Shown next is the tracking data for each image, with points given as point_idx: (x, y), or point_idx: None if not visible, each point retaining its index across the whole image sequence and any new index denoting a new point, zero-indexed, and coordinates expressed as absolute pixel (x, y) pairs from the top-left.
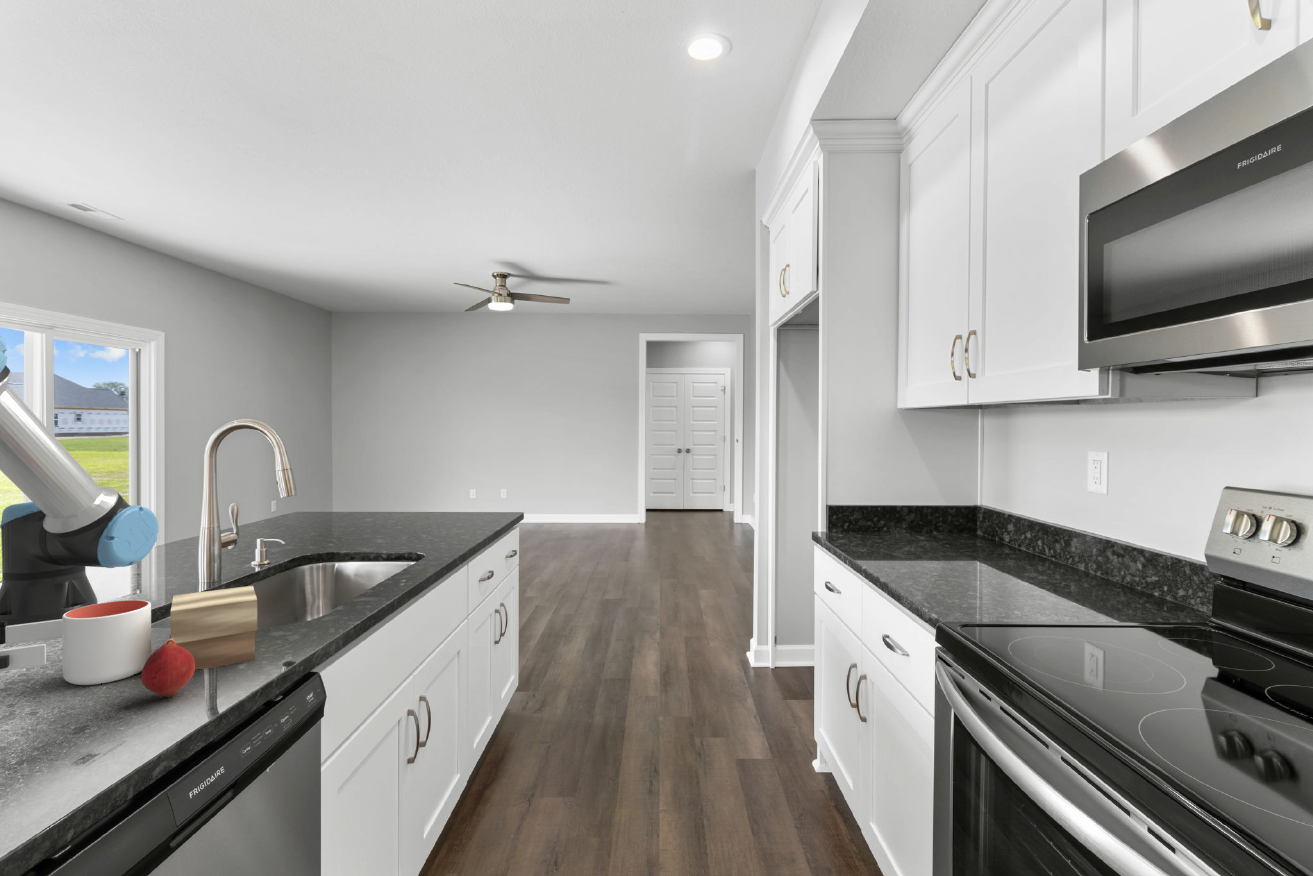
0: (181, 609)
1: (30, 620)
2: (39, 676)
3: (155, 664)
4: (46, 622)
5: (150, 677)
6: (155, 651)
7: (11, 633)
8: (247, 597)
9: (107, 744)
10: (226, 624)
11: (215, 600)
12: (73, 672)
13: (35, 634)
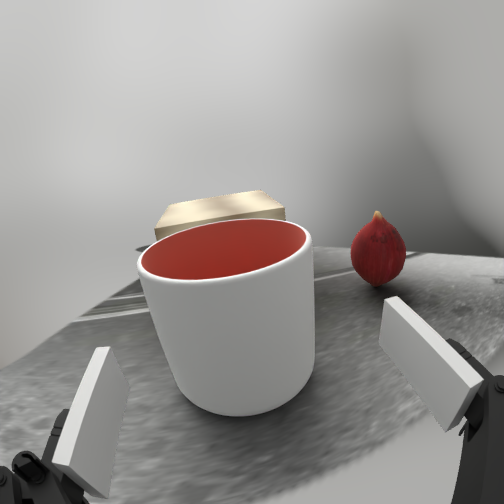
0: (277, 204)
1: None
2: (175, 477)
3: (401, 238)
4: (97, 378)
5: (405, 254)
6: (387, 229)
7: (89, 466)
8: (241, 194)
9: (480, 281)
10: None
11: (238, 201)
12: (307, 369)
13: (108, 424)
